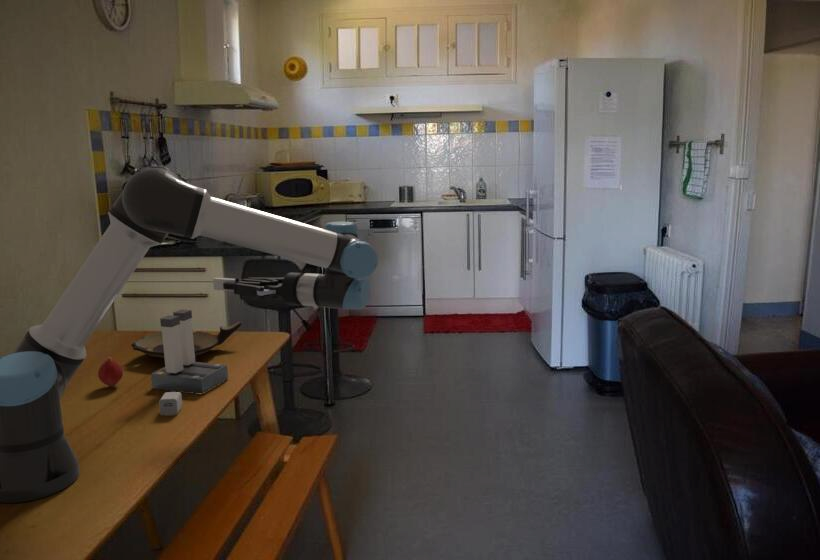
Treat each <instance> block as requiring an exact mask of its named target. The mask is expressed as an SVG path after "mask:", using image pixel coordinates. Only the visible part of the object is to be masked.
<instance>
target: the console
mask: <svg viewBox="0 0 820 560" xmlns="http://www.w3.org/2000/svg"><path fill="white" fill-rule="evenodd" d="M228 373H229V372H228V365H227V364H221V363H212V362H211V363H210V362H208V363H207V362H201V361H195V362H194V363H192V364H190V365H183V370H181V371H180V372H178V373H168V372H166V368H165V366H164V367H162V368H159V369H158V370H155V371H154V372H151V373H150V377H151V378H150V379H151V385H152V386H151V387H152V388H153V390H154V389H155V390H160V389H164V390H163V391H168V390H173V391H172V392H176V391H183V392H182V393H184V392H193V393H202V394H203V393H204V392H206V391H208V390H209V389H211V388H213V387H214V386H217V385H218V384H220V383H221V382H223V381H225V380H227V379H228V380H229V374H228ZM228 380H227V381H228ZM225 382H226V381H225ZM223 383H224V382H223ZM220 385H221V384H220ZM218 386H219V385H218ZM218 386H217V387H218ZM213 389H214V388H213ZM208 392H209V391H208ZM206 393H207V392H206ZM203 395H204V394H203Z"/></svg>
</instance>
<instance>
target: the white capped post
mask: <svg viewBox="0 0 820 560" xmlns="http://www.w3.org/2000/svg"><path fill="white" fill-rule="evenodd" d="M172 316H179V319H180V324H179V326H180V337H181V348H182V359H183V365H190V364H192V363H194V362H196V356H195V352H194V341H193V333H194V332H193V330H194V329H193V320H192V318H193V314H192V310H191V309H179V310H178V309H177V310H175V311H173V312H172Z"/></svg>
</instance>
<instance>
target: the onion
mask: <svg viewBox="0 0 820 560" xmlns="http://www.w3.org/2000/svg"><path fill="white" fill-rule="evenodd" d="M123 370H124V369H123V367H122V365H120V363H119V362H118V361H115V360H113V359H112V357H111V356H109V357H107V359H106V360H105V361H104V362H103V363H102V364H101V365H100V367H99V369H98V373H97V377H98V380H100V382H101V383H102V384H104V385H106V386H108V387H110V388H114V387H115V386H116V385H117V384H118V383H119V382H120V381H121V380H122V378H123V375H124V371H123Z"/></svg>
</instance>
